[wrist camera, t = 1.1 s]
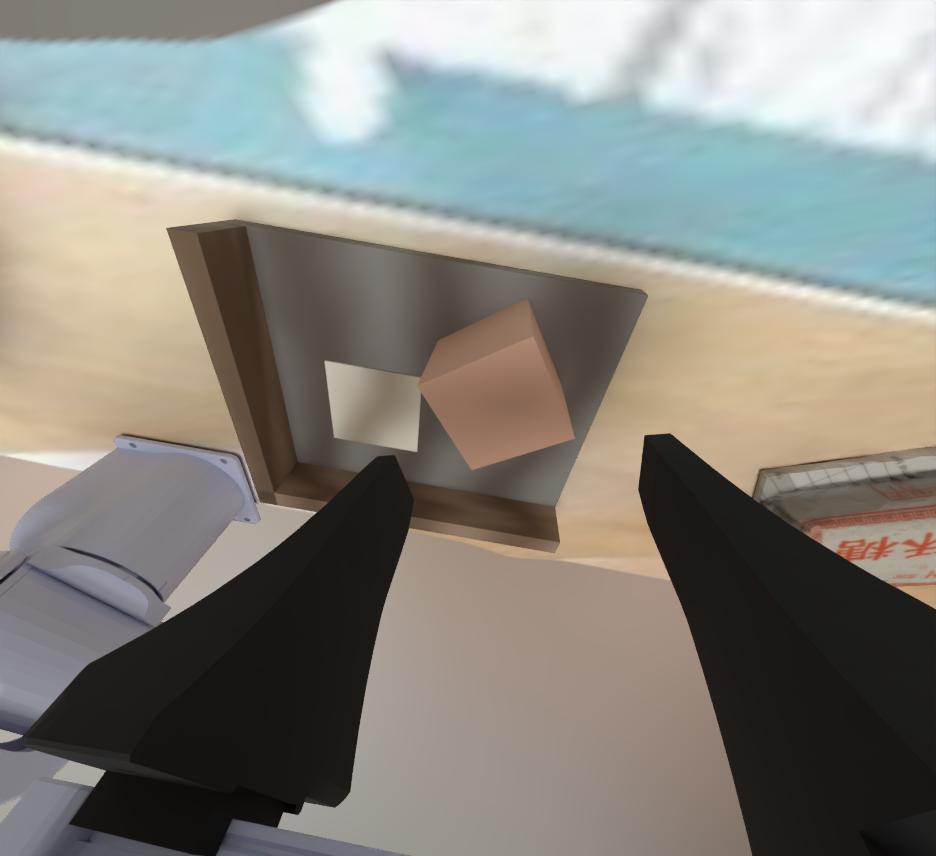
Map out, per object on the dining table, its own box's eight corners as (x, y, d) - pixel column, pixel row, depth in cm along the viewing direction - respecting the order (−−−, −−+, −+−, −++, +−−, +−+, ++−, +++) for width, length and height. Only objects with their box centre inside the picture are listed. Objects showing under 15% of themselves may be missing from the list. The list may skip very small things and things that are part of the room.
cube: (479, 413, 20) (471, 470, 16) (438, 340, 18) (416, 385, 14) (560, 383, 18) (575, 438, 14) (527, 297, 16) (533, 336, 12)
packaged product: (770, 614, 24) (805, 523, 18) (733, 553, 27) (753, 463, 22) (1145, 601, 19) (1336, 474, 14) (1037, 530, 23) (1153, 410, 18)
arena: (291, 462, 26) (260, 501, 23) (234, 219, 16) (166, 228, 13) (549, 506, 26) (554, 553, 22) (641, 290, 16) (673, 315, 13)
